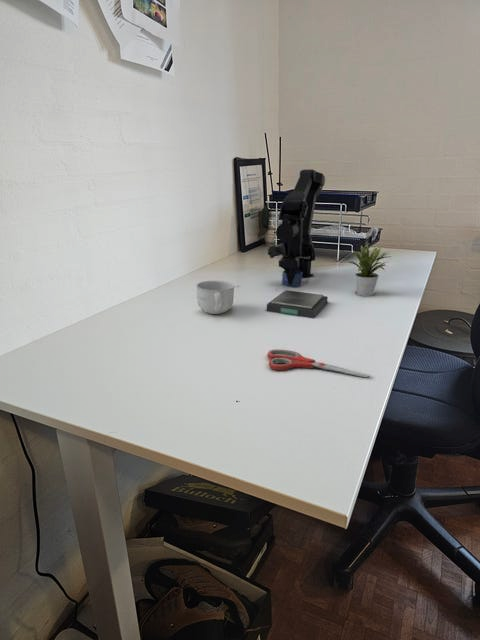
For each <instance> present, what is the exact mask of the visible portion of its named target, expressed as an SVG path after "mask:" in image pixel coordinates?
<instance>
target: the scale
mask: <svg viewBox="0 0 480 640" xmlns="http://www.w3.org/2000/svg"><path fill="white" fill-rule="evenodd" d="M283 292H284V291H282V292H281V293H280V294H282V293H283ZM280 294H278V295H277V296H276V297H274V298H273V299H272V300H271V301H273V300H274V299H275V298H277V297H278V296H279V295H280ZM328 298H329V296H327V295H324V297H323V298H322V299H321V300H320V301H319V302H318V303H317V304H316V305H315V306H314V307H313V308H312V309H308V308H301V307H294V306H287V305H280V304H273V303H271V301H269V302H268V303H266V312H272V313H279V314H284V315H285V314H286V315H292V316H299V317H305V318H311V319H312V318H313V319H314V318H315V317H316V316H317V315H318V314H319V312H320V311H322V309H323V308H324V307H325V306H326V305H327V304H328Z"/></svg>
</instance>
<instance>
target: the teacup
mask: <svg viewBox="0 0 480 640" xmlns="http://www.w3.org/2000/svg"><path fill="white" fill-rule="evenodd" d="M195 287H196V303H197V305H198V307H199V308H200V309H201V310H202V311H203V312H205V313H207V314H211V315H218V314H219V315H220V314H224V313H226V312H227V311H228V310H230V309H231V308H232V307H233V304H234V299H235V298H234V297H235V285H234V283H232V282H229V281H224V280H204V281H200V282H198V283H196V285H195Z"/></svg>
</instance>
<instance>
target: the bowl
mask: <svg viewBox="0 0 480 640" xmlns="http://www.w3.org/2000/svg"><path fill="white" fill-rule="evenodd" d="M281 283H282V286H285V287H287V288H296V287H300V286H302V284H303V278H302V271H300V270H297V273H296V275H295V278H294V280H293V283H292V284H291V285H290V284H288V280H287V275H286V272H285V270H284V269H283V270H282V272H281Z"/></svg>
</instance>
